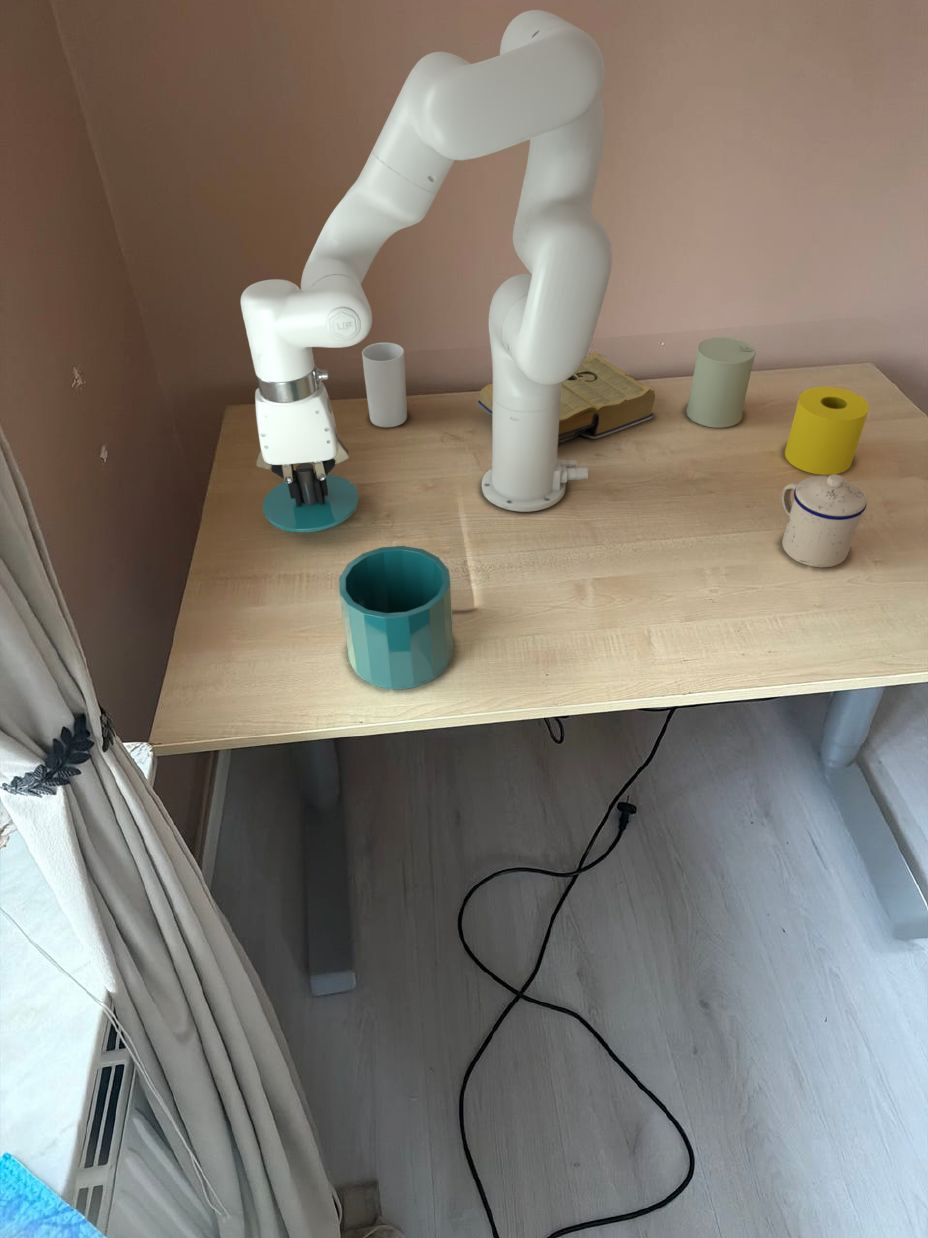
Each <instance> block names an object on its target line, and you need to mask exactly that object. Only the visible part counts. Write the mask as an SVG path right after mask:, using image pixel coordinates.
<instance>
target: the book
mask: <svg viewBox="0 0 928 1238" xmlns="http://www.w3.org/2000/svg"><path fill="white" fill-rule="evenodd" d="M651 388H652V385H645V384H643V383H641V382H639V381H638V380H636V379H635V378H634V377H632V376H629V374H627V372H625V371H624V370H623V369H621V368H619V367H617V366H616V365H614V364H612V363H610V362H609V361H608V360H607V359H605V358H604V357H603V356H602V355H601V354H600V353H599V352H597V350H595V351H593V352H592V353H591V354H589V355H586V357H585V359H584V361H583V363H582V364H581V366H580V367H579V369H578V370H577V371H576V372H575V373H574V374H573V375H572V376H571V377H569V378H568V379H566V380H565V381H563V382H562V388H561V401H560V417H559V433H558V444H559V443H563V442H566V441H569V440H571V439H574V438H577V437H578V436H580V435H581V436H583V437H586V438H589V439H593V440H596V439H600V438H603V437H605V436H608V435H611V434H614V433H616V432H619V431H622V430H626V429H628V428H630V427H633V426H635V425H638V424H640V423H644V422H646V421H648V420H651V419H653V418H654V416H655V413H653V409H654V405H655V401H656V393H655V391H654V390H652V389H651ZM479 396H480V398H479V400H477V401H476V404H477V405H478V406H479V407H480V408H481V409H482V410H484V412H486V413H487V414H489V415H490V416H491V417H492V413H493V382H492V383H487V384H486V385H485V387H482V388H481V389H480V395H479Z"/></svg>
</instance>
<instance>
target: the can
mask: <svg viewBox="0 0 928 1238" xmlns="http://www.w3.org/2000/svg"><path fill="white" fill-rule="evenodd" d="M755 357H756V349H755V347H754V346H753V345H751V344H750V343H748V342H747V341H745V340H742V339H739V338H735V337H729V336H719V337H717V336H715V337H710V338H706V339H704V340H702V341H700V342H699V343H698V344H697V347H696V356H695V364H694V369H693V375H692V380H691V381H692V382H691V388H690V393H689V399H688V402H687V403H688V404H687V407H686V409H685V411H686V415H687V417H688V418H689V420H691V421H692V422H694V423H695V424H698V425H699V426H700V425H701V426H702V427H703V426H704V427H707V428H714V429H722V428H723V429H724V428H731V427H733V426H736V425H737V424H739V423H741V421H742V419H743V417H744V416H743V415H744V413H743V412H744V406H745V401H746V398H747V397H746V396H747V391H748V388H749V383H750V379H751V374H752V369H753V365H754V361H755Z"/></svg>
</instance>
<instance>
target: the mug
mask: <svg viewBox="0 0 928 1238" xmlns="http://www.w3.org/2000/svg"><path fill="white" fill-rule="evenodd" d="M361 356H362V367H363V376H364V384H365V392H366V398H367V407H368V408H367V409H368V413H369V420H370V422H371V423H372V424H373V425H374V426H376V427H380V428H395V427H398V426H401V425H402V424H404V423H406V420H407V419H408V409H407V405H408V404H407V385H406V384H407V383H406V362H405V361H406V360H405V349H404V348H403V346H401V345H399V344H397V343H394V342H376V343H371V344H369V345H367V346H366V347H364V348H363V349H362V351H361Z"/></svg>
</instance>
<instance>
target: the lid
mask: <svg viewBox="0 0 928 1238" xmlns="http://www.w3.org/2000/svg"><path fill="white" fill-rule="evenodd" d="M295 471H296V473H297V478H298V483H299V488H300V493H301V498H302V505H301V506H300V507H297V505H296V501H295V498H294V499H291V497H290V492H289V487H288V483H286V482H285V481H284V480H283V481H282V482H280V483H279V484H277V485H275V486H274V487H273V488H272V489H270V491H269V492H268V493H267V494H266V496H265V497H264V499H263V502H262V512H263V515H264V517H265V520H266V521H267V522H268V523H269V524H270V525H272V526H274V527H275V528H277V529H279V530H282V531H284V532H285V531H286V532H291V533H296V534H297V533H300V534H302V533H303V534H305V533H315V532H321V531H325V530H328V529H331V528H333V527H336V526H338V525H340V524H342V523H344V522H345V521H347V520H348V519H349V518H350V517H352V515H354V513H355V512H356V510H357V509H358V506H359V504H360V503H359V502H360V496H359V491H358V489H357V487H356V486H355V485H354V484H353V483H352V482H351V481H350V480H349V479H346V478H345V477H342V476H339V475H336V474H330V473H328V474H327V475H326V482H327V488H328V495H327V496H324V504H322V505H320V504H318V499H317V494H316V489H315V483H314V478H315V467H314V464H313V463H311V462H307V463H298V465H296V466H295Z"/></svg>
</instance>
